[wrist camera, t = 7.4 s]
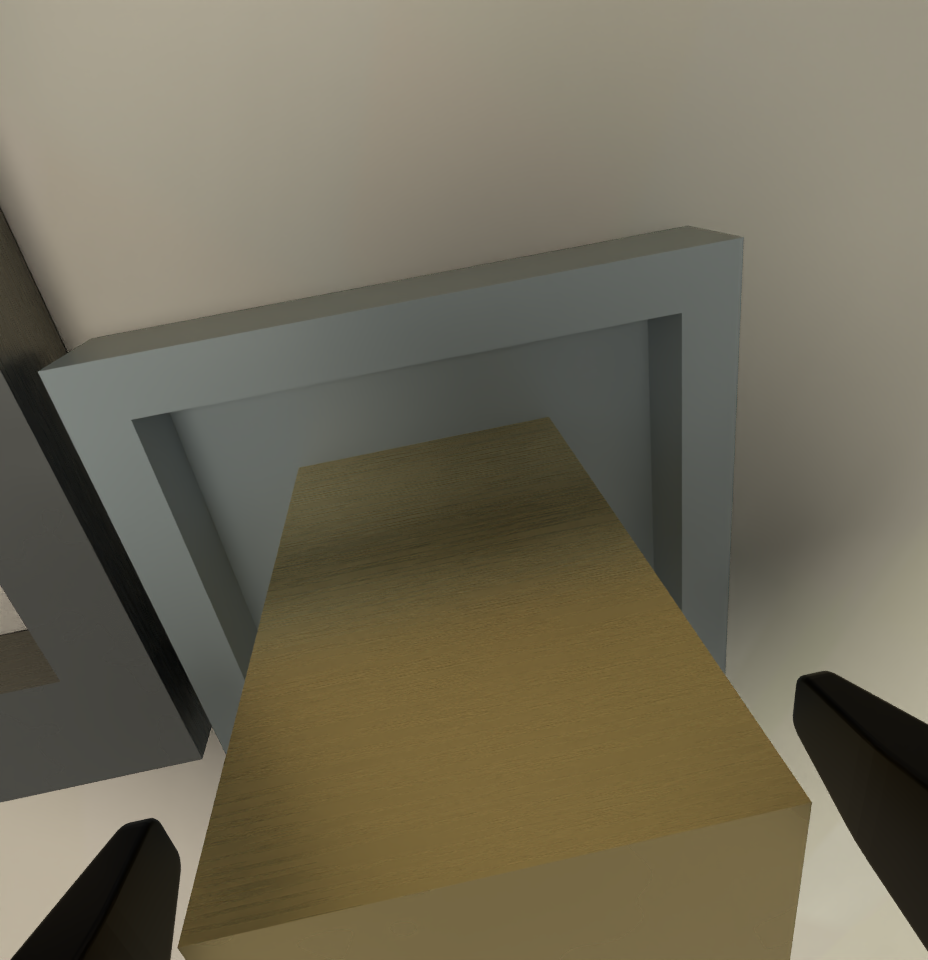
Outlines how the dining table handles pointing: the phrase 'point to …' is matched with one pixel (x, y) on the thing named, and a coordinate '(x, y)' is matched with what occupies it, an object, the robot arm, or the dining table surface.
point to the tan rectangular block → (487, 735)
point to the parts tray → (415, 418)
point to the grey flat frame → (71, 593)
